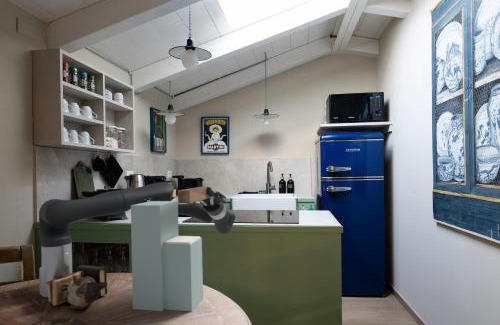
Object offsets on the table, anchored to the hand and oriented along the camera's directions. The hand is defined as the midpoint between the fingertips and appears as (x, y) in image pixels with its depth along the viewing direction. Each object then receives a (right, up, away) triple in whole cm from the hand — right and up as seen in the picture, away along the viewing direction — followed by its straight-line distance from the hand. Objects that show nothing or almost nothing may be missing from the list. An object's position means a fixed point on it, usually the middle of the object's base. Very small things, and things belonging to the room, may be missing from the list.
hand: (201, 189), depth 113 cm
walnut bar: (-1, -3, -5) cm, 6 cm away
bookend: (-36, -37, -12) cm, 53 cm away
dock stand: (-8, -35, -13) cm, 39 cm away
